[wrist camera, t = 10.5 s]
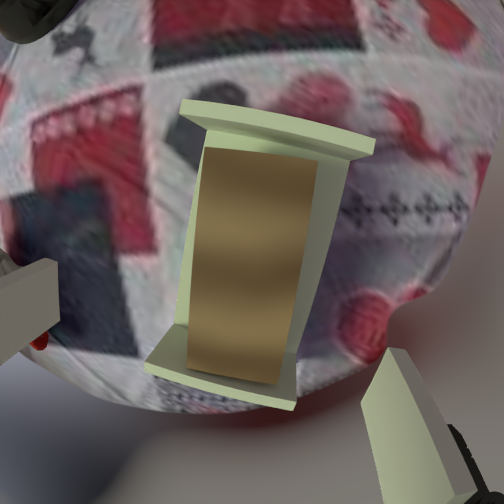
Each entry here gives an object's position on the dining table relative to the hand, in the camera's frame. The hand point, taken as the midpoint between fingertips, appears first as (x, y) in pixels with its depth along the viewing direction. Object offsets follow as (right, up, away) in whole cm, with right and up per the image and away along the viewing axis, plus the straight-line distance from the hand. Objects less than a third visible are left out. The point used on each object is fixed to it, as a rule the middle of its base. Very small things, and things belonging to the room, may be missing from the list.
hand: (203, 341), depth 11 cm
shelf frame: (+2, +3, +16) cm, 17 cm away
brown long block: (+2, +2, +13) cm, 14 cm away
